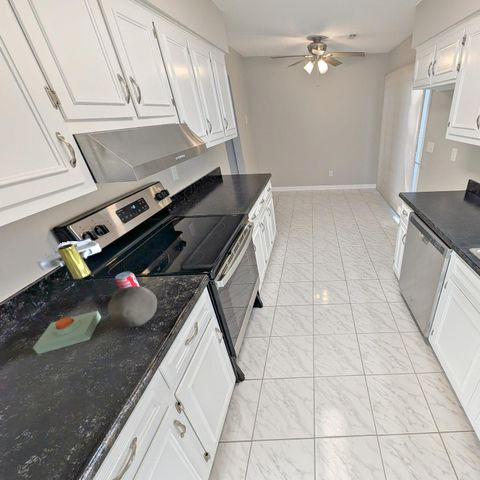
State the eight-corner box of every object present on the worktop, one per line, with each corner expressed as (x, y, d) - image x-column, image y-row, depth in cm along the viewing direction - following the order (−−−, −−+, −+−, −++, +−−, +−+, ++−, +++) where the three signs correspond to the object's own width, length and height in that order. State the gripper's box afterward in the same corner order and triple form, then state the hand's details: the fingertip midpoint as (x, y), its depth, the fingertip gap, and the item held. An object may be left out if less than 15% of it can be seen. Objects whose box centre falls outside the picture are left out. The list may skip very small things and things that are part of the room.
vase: (76, 280, 107) (58, 251, 100) (70, 277, 110) (53, 248, 103) (93, 273, 111) (77, 245, 105) (87, 269, 114) (71, 242, 108)
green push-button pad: (38, 354, 83) (29, 343, 81) (56, 328, 93) (48, 318, 91) (89, 339, 88) (82, 329, 85) (101, 316, 98) (95, 307, 95)
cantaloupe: (114, 325, 93) (95, 293, 86) (156, 304, 102) (142, 273, 95) (125, 345, 84) (105, 311, 77) (169, 320, 93) (155, 288, 87)
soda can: (125, 305, 103) (112, 281, 97) (127, 297, 107) (114, 273, 102) (143, 299, 105) (131, 275, 100) (144, 291, 110) (132, 268, 105)
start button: (55, 330, 86) (52, 327, 85) (61, 322, 89) (58, 319, 88) (69, 326, 87) (67, 323, 86) (74, 319, 91) (72, 315, 90)
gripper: (33, 254, 107) (35, 265, 98) (93, 236, 120) (99, 244, 111) (41, 267, 109) (44, 278, 101) (99, 248, 123) (106, 257, 114)
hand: (73, 260), depth 106 cm, fingers closed on vase, 5 cm apart
